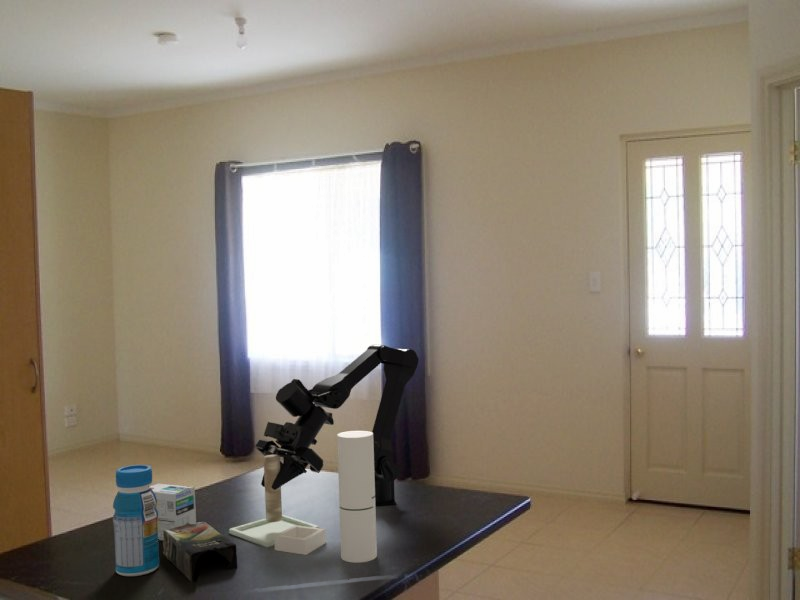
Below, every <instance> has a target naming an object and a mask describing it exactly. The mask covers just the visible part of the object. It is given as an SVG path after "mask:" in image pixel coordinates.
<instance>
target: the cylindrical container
mask: <svg viewBox="0 0 800 600" xmlns="http://www.w3.org/2000/svg"><path fill="white" fill-rule="evenodd" d="M336 436H337V437H336V439H337V441H336V444H337V462H338V463H337V470H338V471H337V472H338V474H337V475H338V497H339V498H338V500H339V501H338V503H339V506H338V507H339V529H340V530H339V533H340V535H339V536H340V557H341V560H343V561H344V562H349V563H367V562H371V561H373V560H374V559H376V558H377V557H378V556H377V555H378V547H377V545H378V543H377V517H376V516H377V514H376V513H377V512H376V507H377V506H375V475H374V443H373V433H372V431H370V430H348V431H343V432H341V431H340V432H338V433H337V435H336Z"/></svg>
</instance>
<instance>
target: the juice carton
mask: <svg viewBox="0 0 800 600" xmlns="http://www.w3.org/2000/svg"><path fill="white" fill-rule="evenodd" d="M162 545H163V555H164V556H165V557H166V558H167V560H168V561H170V562H171V563H172V564H173V565H174V566H175V567H176V568H177V569H178V570H179V571H180V573H182V574H183V575H184V576H185V577H186V578H187V579H188V580H189V581H190V582H192V583H194V582H197V581H198V580H197V579H196V580H195V579H194V577H195V569H196V565H197V564H196V563H197V561H198V560H199V558H200V556H201V555H203V554H205V553H207V552H210V551H215V552H217V553H218V554H219V555H221V556H222V557H224V558H226V561H228V562H229V563H228V564H227V566H226V569H225V570H226V571H227V570H232V569H233V570H234V569H237V568H238V555H237V544H236V543H234V542H233V541H231V539H229V538H228V537H226V536H225V535H224V534H222V533H220V532H218V531H217V530H216V529H215V528H214V527H213V526H211V525H210V524H208V523H207V522H206V521H201V522H200V521H199V522H196V523H194V524H189V523H188V524H185V525H181V526H179V527H174V528H171V529H165V530H163V540H162Z"/></svg>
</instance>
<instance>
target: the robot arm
mask: <svg viewBox="0 0 800 600" xmlns="http://www.w3.org/2000/svg"><path fill="white" fill-rule="evenodd" d="M419 362H420V359H419V357H418V355H417V352H416V351H415V350H414V349H410V348H397V347H396V348H395V347H391V346H387V345H384V344H370V345H369V346H368V347H367V349H366V350H365V351H364V352H362V354H360V355H359V356H358V357H357V358H355V359H354V360H353V361H352V362H350V364H348V365H347V366H346V367H345V368H343V369H342V370H340V372H338V373H337V374H335V375H332V376H329V377H326V378H325V379H323V380H320V381H319V382H317V383H316V384H315V385H313V386H312V388H310V389H308V388H307V387H306V386H305V385H304V384H303V382H302V380H300V379H298V378H293V379H292V380H291V381H290V382H288V383H286V384H285V385H284V386H282V387H280V388H279V389H278V390H277V393H276V395H275V401H276V402H277V403H278V404H279V405H280V406H281V407H283V409H284V410H285V411H286V412H287V413H288V414H289V415H290V416H291V417H293V418H296V417H298V418H297V420H296V421H295V422H294V423H292V422H289V421H286V422H285V423H284V424H280V423H276V422H271V421H268V422H267V423H266V426H265V430H264V432H263V436H264V437H266V438H262V439H259V440H258V441H257V442H256V444H255V446H254V448H255V449H256V450H257V451H258V452H260V454H261V455H263V457H264V456H267V455H279V456H280V471H279V473H278V475H277V477H276V479H275V480H274V482H273V485H272V489H273V490H276V489H278V488H279V487H281V488H282V486H284V485H286V484H287V483H288V482H291V481H292V480H294V479H295V478H297V477H299V476H301V475H303V474H306V473H307V472H308V471H307V470H306V469H307V467H308V466H309V471H311V472H313V473H317V474H319V473H320V472H321V470H322V469H323V468H324V459H323V458H322V457H321V456H319V454H317V453H316V451H314V449H312V448H310V447H311V445H314V446H315V445H317V443H318V440H317V439H316V437H317V436H318V434H319V432H321V429H322V428H323V427H324V425H331V426H333V425H334V424H335V423H334V422H335V421H334V419H333V413H332V412H327V411H326V410H325V409H324V408H326V409H334V410H337V409H339V408H341V407H342V406H343V404H344V403H345V402H346V401H347V400H348V398H349V397H350V395H351V391H352V389H353V388H354V387H355V386H357V385H358V384H359V383H360V382H361V381H363V379H365V377H367V376H368V375H369V374H371V372H372V371H374V369H376V368H377V367H379V366H380V364H381V365H383V373H384V377H385V384H384V387H383V390H382V395H381V397H380V401H379V406H378V409H377V412H376V413H377V414H376V416H375V420H374V423H373V427H372V431H371V432H372V433H373V443H374V475H375V507H377V506H386V505H387V506H388V505H396V504H397V500H396V498H395V497H396V494H395V492H396V491H395V481H396V480H398V479H400V475H401V469H400V468H399V467H398V466H397V465H396V463H395V462H394V461H393V455H394V450H393V447H392V445H393V444H392V441H391V439H392V436H393V432H394V428H395V424H396V420H397V417H398V412H399V409H400V406H401V401H402V398H403V393H404V390H405V386H406V385H407V384H408V382H409V381H411V379H412V378H413V377H414V375H415V373H416V370H417V368H418V365H419ZM268 437H269V438H272V439H275V442H274V440H272V439H267V438H268ZM260 484H261V486H262V487H263V488H265V480H264V474H263V476H262V479H261V483H260Z"/></svg>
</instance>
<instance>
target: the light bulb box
mask: <svg viewBox="0 0 800 600" xmlns="http://www.w3.org/2000/svg"><path fill="white" fill-rule="evenodd" d="M149 487H150V488H151V489H152V490H153V492H154V493H155V496H156V498H157V503H156V509H157V510H158V539H159V540H158V541H163V530H165V529H171V528H174V527H179V526H181V525H185V524H188V523H189V524H194V523H197V510H196V490H195V486H189V485H188V486H186V485H177V484H166V483H165V484H164V483H156V484H153V485H149Z"/></svg>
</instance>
